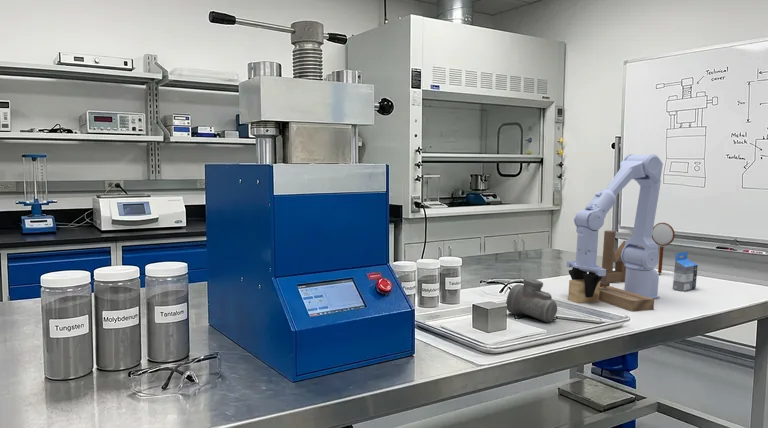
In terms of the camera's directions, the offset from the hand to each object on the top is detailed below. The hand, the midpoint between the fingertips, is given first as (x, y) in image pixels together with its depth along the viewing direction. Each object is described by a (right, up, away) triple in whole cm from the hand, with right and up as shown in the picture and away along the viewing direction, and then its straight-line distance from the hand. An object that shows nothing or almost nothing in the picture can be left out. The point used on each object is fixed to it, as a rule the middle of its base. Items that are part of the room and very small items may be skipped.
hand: (583, 295), depth 167 cm
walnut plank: (+9, -2, +2) cm, 9 cm away
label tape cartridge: (+41, -1, +21) cm, 46 cm away
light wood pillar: (+2, -2, +1) cm, 3 cm away
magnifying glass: (+45, +1, +45) cm, 63 cm away
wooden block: (+21, 0, +30) cm, 37 cm away
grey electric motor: (-21, -3, -21) cm, 30 cm away
